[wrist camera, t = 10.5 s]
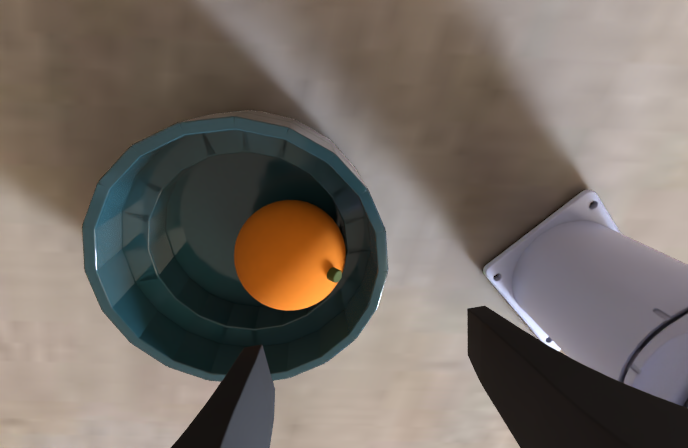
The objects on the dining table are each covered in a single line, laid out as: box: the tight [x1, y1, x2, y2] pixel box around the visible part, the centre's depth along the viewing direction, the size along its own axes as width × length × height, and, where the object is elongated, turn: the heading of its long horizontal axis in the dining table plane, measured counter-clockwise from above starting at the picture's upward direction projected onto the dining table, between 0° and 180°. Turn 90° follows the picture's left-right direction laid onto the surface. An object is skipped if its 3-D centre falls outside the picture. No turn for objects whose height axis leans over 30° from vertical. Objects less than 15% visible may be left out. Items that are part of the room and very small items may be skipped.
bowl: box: [82, 110, 388, 382], centre depth 18 cm, size 13×13×5 cm
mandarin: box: [234, 200, 346, 311], centre depth 17 cm, size 5×5×6 cm
